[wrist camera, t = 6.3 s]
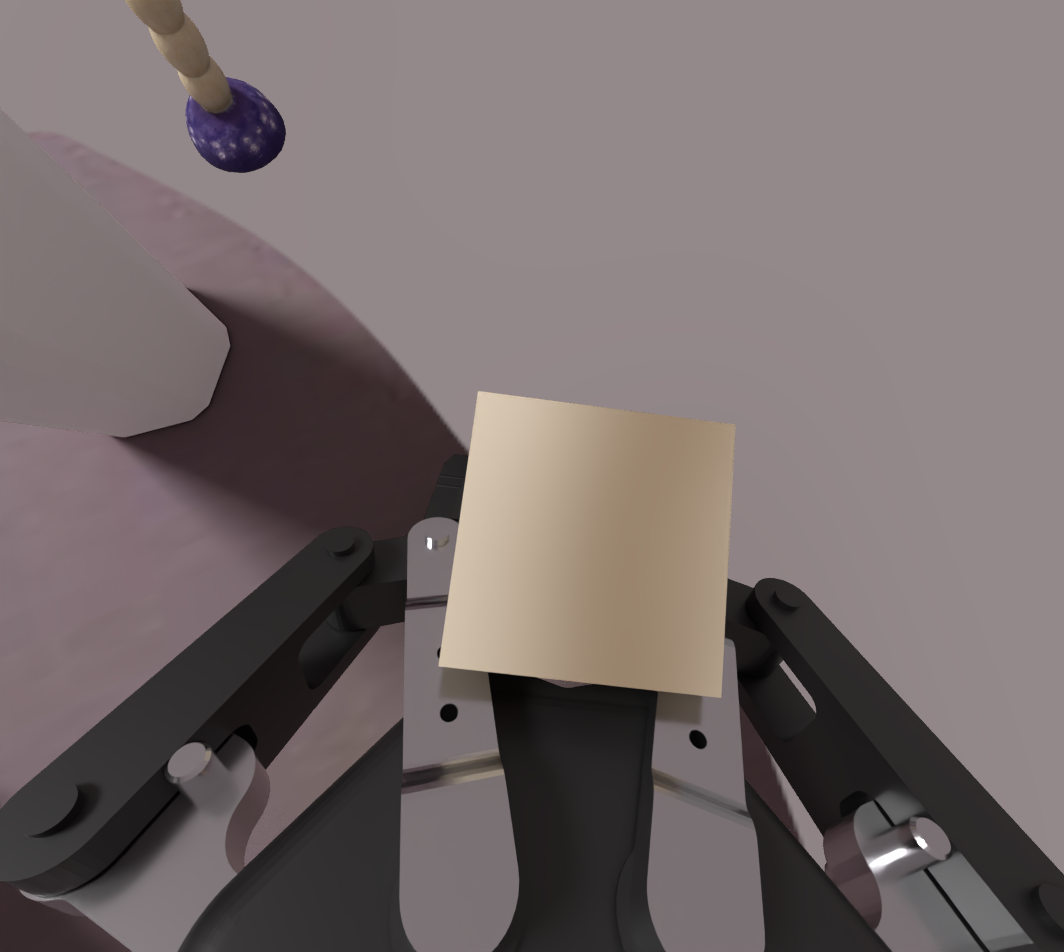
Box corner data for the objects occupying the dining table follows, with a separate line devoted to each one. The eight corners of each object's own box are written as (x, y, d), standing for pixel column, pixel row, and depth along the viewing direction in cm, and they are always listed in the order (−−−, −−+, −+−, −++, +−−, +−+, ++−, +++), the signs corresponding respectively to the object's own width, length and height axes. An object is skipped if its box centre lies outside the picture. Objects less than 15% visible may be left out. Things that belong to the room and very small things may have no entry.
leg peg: (487, 581, 19) (438, 666, 6) (499, 489, 20) (478, 390, 7) (579, 591, 19) (721, 698, 6) (588, 500, 20) (735, 424, 7)
